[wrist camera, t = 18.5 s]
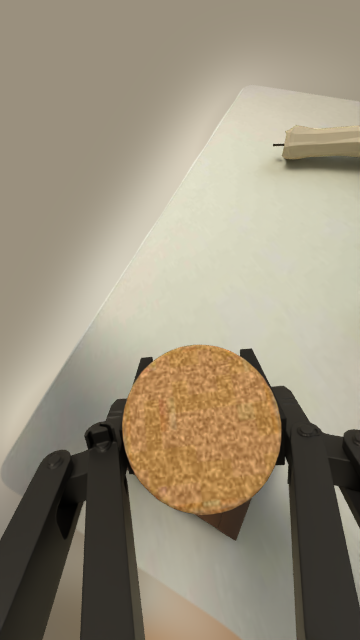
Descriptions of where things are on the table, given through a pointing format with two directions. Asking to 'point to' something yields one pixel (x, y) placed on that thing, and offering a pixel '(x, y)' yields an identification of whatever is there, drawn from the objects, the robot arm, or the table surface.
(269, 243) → the table surface
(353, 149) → the faceted club
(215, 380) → the bottle
